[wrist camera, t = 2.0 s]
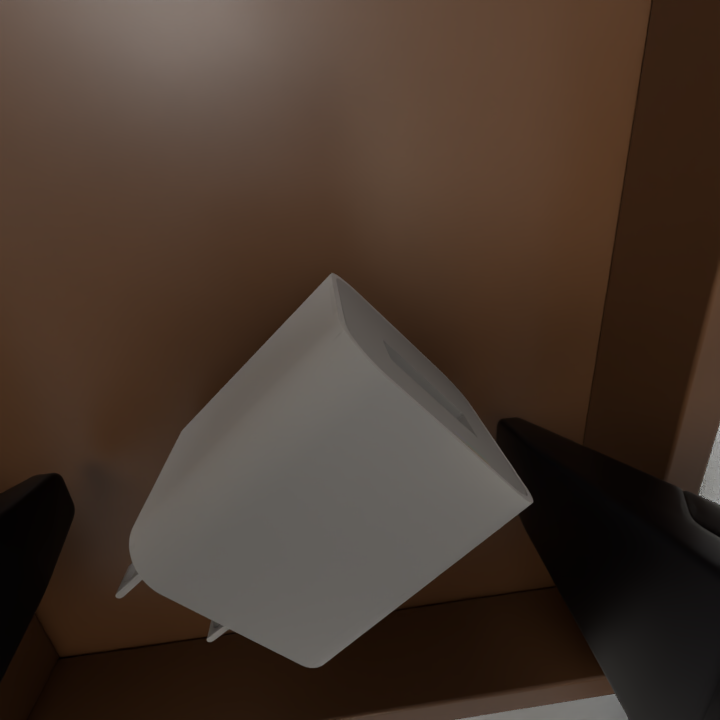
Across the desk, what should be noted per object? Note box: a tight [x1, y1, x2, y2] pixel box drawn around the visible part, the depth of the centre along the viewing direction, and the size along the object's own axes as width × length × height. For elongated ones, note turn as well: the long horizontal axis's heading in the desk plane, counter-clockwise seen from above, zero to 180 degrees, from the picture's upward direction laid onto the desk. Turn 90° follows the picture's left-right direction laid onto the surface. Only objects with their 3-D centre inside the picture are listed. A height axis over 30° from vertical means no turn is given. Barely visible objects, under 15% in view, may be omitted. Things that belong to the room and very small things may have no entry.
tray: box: [0, 0, 720, 720], centre depth 8 cm, size 20×16×3 cm
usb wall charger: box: [115, 273, 533, 668], centre depth 8 cm, size 4×7×4 cm, turn 135°
